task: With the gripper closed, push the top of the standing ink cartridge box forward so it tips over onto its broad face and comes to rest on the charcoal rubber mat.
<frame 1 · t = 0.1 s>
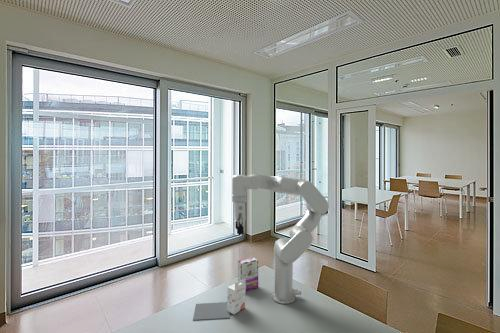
hand: (239, 231, 133), 37 cm above the table, tool pointing down, fingers open, 9 cm apart
ink cartridge box: (235, 309, 126), on the table, touching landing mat
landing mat: (212, 311, 124), on the table
candy bar box: (247, 288, 147), on the table
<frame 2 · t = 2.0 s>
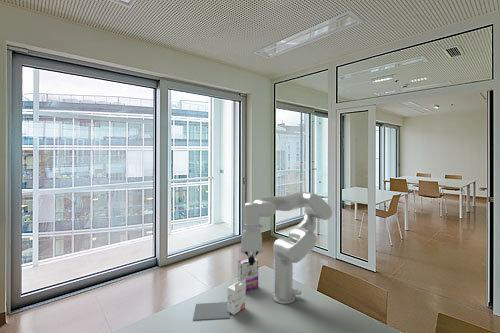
hand: (251, 264, 126), 22 cm above the table, tool pointing down, fingers closed
nothing on the table moved.
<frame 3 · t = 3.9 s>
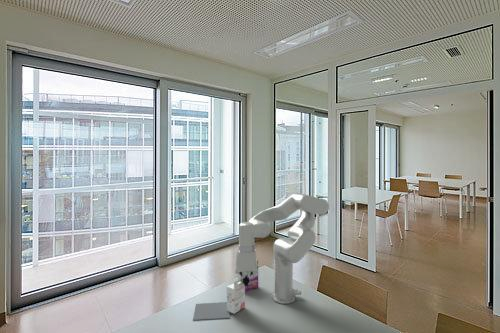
hand: (245, 284, 126), 12 cm above the table, tool pointing down, fingers closed
ink cartridge box: (235, 309, 126), on the table, touching gripper, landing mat
everything else where it was.
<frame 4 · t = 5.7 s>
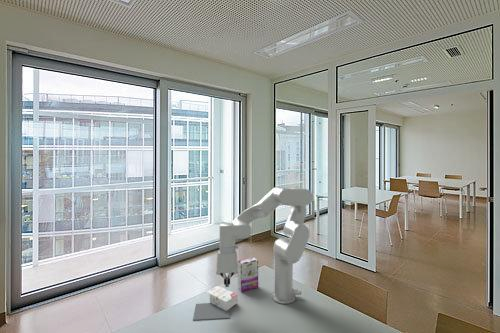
hand: (227, 285, 125), 12 cm above the table, tool pointing down, fingers closed
ink cartridge box: (232, 302, 127), point 3 cm above the table, touching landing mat
everything else where it was.
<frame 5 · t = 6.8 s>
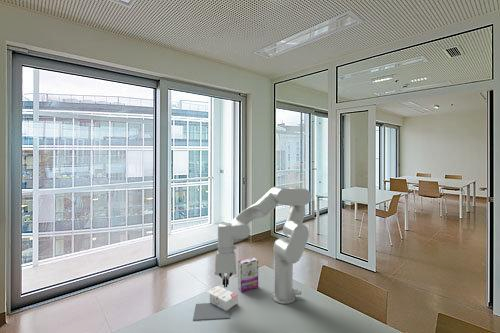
hand: (225, 286, 125), 12 cm above the table, tool pointing down, fingers closed
nothing on the table moved.
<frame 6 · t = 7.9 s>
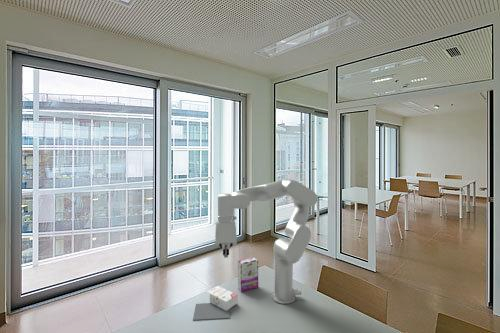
hand: (226, 256, 124), 27 cm above the table, tool pointing down, fingers closed
nothing on the table moved.
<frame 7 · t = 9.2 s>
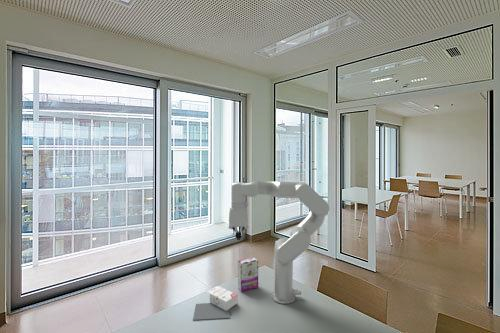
hand: (238, 239, 137), 31 cm above the table, tool pointing down, fingers closed
nothing on the table moved.
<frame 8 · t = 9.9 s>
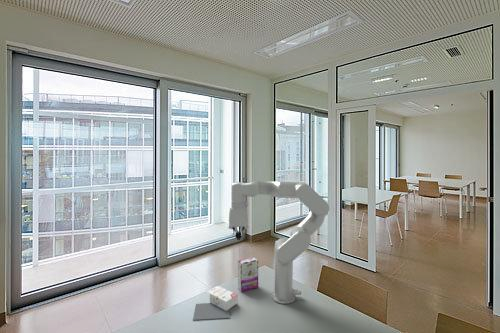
hand: (238, 239, 137), 31 cm above the table, tool pointing down, fingers closed
nothing on the table moved.
at the end: ink cartridge box tilted 88°; ink cartridge box touching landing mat; the gripper is holding nothing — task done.
